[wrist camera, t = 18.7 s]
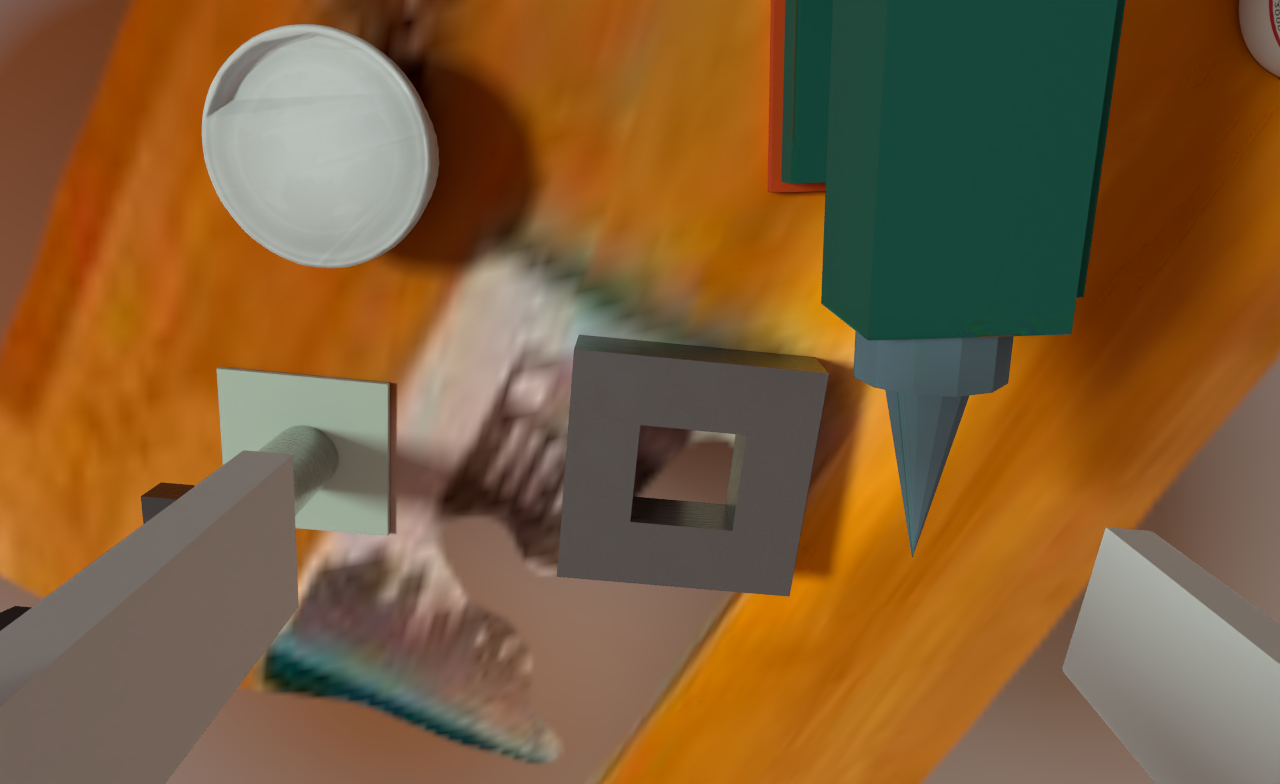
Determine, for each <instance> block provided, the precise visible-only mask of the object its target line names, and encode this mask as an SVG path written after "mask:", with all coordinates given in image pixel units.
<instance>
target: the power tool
mask: <svg viewBox="0 0 1280 784" xmlns="http://www.w3.org/2000/svg"><path fill="white" fill-rule="evenodd" d="M1124 7H1125V0H771V33H770V90H769V147H768V192H771V193H773V192H804V191H826V195H825V221H824V246H823V272H822V297H821V304H822V305H824V306H825V307H826V308H828V309H829V310H830V311H831V312H833V313H834V314H835V315H836V316H838V317H839V318H840V319H841V320H843V321H844V322H845V323H847V324H848V325H849V326H850V327H852V328H853V329H854V330H855V331H856V336H855V355H854V377H855V378H857V379H859V380H861V381H863V382H865V383H867V384H869V385H871V386H873V387H875V388H880V389H885V390H886V396H887V403H888V409H889V415H890V421H891V428H892V434H893V440H894V447H895V453H896V459H897V465H898V472H899V478H900V484H901V491H902V497H903V503H904V509H905V516H906V522H907V528H908V535H909V541H910V547H911V553H912V557H913V554H914V551H915V548H916V546H917V543H918V540H919V537H920V534H921V531H922V529H923V526H924V523H925V520H926V517H927V514H928V512H929V509H930V506H931V503H932V500H933V497H934V494H935V492H936V489H937V486H938V483H939V480H940V477H941V475H942V472H943V469H944V466H945V463H946V460H947V457H948V455H949V452H950V449H951V446H952V443H953V440H954V438H955V435H956V432H957V429H958V426H959V423H960V421H961V418H962V415H963V412H964V409H965V406H966V403H967V401H968V398H969V395H976V394H984V393H992V392H994V391H996V390H997V389H999V388H1001V387H1002V386H1004V385H1006V384H1008V379H1009V370H1010V362H1011V353H1012V344H1013V336H1032V335H1064V334H1071V333H1072V326H1073V319H1074V312H1075V304H1076V297H1084V291H1085V284H1086V276H1087V269H1088V262H1089V255H1090V248H1091V241H1092V234H1093V227H1094V220H1095V213H1096V206H1097V198H1098V191H1099V184H1100V177H1101V170H1102V163H1103V156H1104V149H1105V142H1106V135H1107V128H1108V120H1109V113H1110V106H1111V99H1112V92H1113V85H1114V78H1115V71H1116V64H1117V57H1118V49H1119V42H1120V35H1121V28H1122V21H1123V14H1124Z"/></svg>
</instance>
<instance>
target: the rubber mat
mask: <svg viewBox="0 0 1280 784" xmlns="http://www.w3.org/2000/svg"><path fill="white" fill-rule="evenodd" d="M217 382H218V397H219V412H220V427H221V442H222V457H223V465H224V464H226V463H227V462H228V461H230V460H231V459H232V458H234V457H235V456H236V455H238V454H239V453H240V452H242V451H243V450H247V451H258V450H259V449H260V448H262V447H263V446H264V445H266V444H267V443H268V442H269V441H271V440H272V439H273V438H275V437H276V436H277V435H278V434H280V433H281V432H282V431H284V430H285V429H287V428H289V427H292V426H298V425H305V426H310V427H314V428H316V429H318V430H320V431H322V432H323V433H325V434H326V435H327V436H328V437H329V438H330V439H331V440H332V442H333V443H334V445H335V447H336V449H337V452H338V458H339V461H338V467H337V470H336V472H335V474H334V475H333V476H332V478H331V479H330V480H329V481H328V482H327V483H326V484H325V485H324V486H323V487H322V488H321V489H320V490H319V491H318V492H317V494H316V495H315V496H314V497H313V498H312V499H311V500H310V501H309V502H308V503H307V504H306V505H305V506H304V507H303V508H302V509H301V510H300V512H299V513H298V514H297V515H296V516H295V528H302V529H313V530H325V531H336V532H348V533H360V534H371V535H383V536H388V535H389V533H390V383H389V382H379V381H368V380H357V379H346V378H336V377H325V376H314V375H303V374H292V373H282V372H271V371H260V370H249V369H239V368H228V367H219V368H217Z"/></svg>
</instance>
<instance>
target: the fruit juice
mask: <svg viewBox="0 0 1280 784" xmlns="http://www.w3.org/2000/svg"><path fill="white" fill-rule="evenodd" d="M1239 22H1240V28H1241V32H1242V36H1243V39H1244V41H1245V44H1246V46H1247V48H1248V50H1249V51H1250V53H1251V54H1252V56H1253V57H1254V58H1255V60H1256V61H1257V62H1258V63H1259V64H1260V65H1261V66H1262V67H1264V68H1265V69H1266V70H1268V71H1269V72H1271V73H1272V74H1274V75H1276V76H1278V77H1280V0H1239Z"/></svg>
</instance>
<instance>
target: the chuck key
mask: <svg viewBox="0 0 1280 784" xmlns="http://www.w3.org/2000/svg"><path fill="white" fill-rule="evenodd" d="M258 452H270V453H281V454H292V455H293V474H294V501H295V516H296V515H297V514H298V513H299V512H300V510H301V509H302V508H303V507H304V506H305V505H306V504H307V503H308V502H309V501H310V500H311V499H312V498H313V497H314V496H315V495H316V494H317V492H318V491H319V490H320V489H321V488H322V487H323V486H324V485H325V484H326V483H327V482H328V481H329V480H330V479H331V478H332V476H333V475H334V474H335V472H336V470H337V467H338V461H339V458H338V452H337V449H336V447H335V445H334V443H333V442H332V440H331V439H330V438H329V437H328V436H327V435H326V434H325V433H323V432H322V431H320V430H318V429H316V428H314V427H310V426H305V425H298V426H292V427H289V428H287V429H285V430H284V431H282V432H281V433H280V434H278V435H277V436H276V437H275V438H273V439H272V440H271V441H269V442H268V443H267V444H266V445H264V446H263V447H262V448H260V449H259V450H258ZM193 487H194V485H183V484H172V483H160V484H158V485H157V486H155V487H154V488H152V489H151V490H149V491H148V492H147V493H145V494H144V495H142V496H141V502H142V512H143V522H144V524H145V523H146V522H148V521H149V520H150V519H152V518H153V517H154V516H156V515H157V514H158V513H160V512H161V511H162V510H164V509H165V508H166V507H168V506H169V505H171V504H172V503H173V502H175V501H176V500H177V499H179V498H180V497H181V496H183V495H184V494H185V493H187V492H188V491H189V490H191V489H192V488H193Z"/></svg>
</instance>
